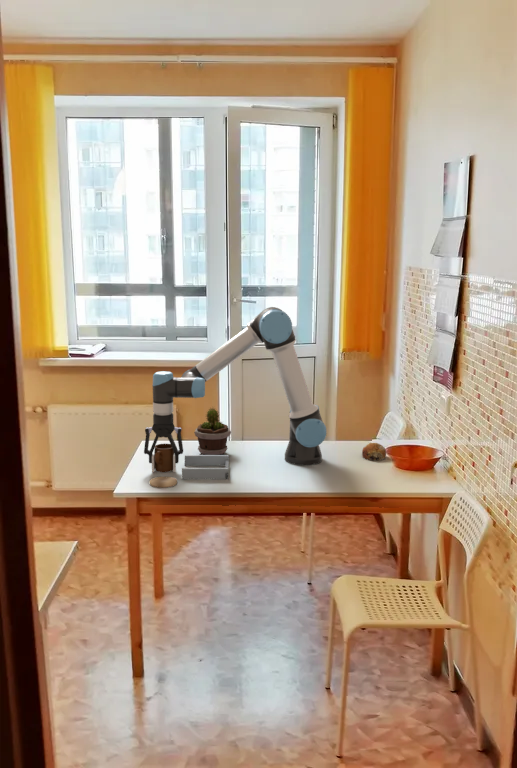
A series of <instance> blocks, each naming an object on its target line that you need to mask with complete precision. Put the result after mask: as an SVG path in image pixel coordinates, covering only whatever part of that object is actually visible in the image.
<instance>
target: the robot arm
mask: <svg viewBox="0 0 517 768" xmlns="http://www.w3.org/2000/svg"><path fill="white" fill-rule="evenodd" d="M295 336H296V335H295V333H294V329H293V321H292V320H291V317H290V316H289V314H287V312H285V311H283V310H282V309H280V308H278V307H273V306H270V307H267V308H266V307H265V308H264V309H263V310H262V311H261V312H259V314H257V315H256V316H255V317H254V318H253V319H251V320H250V321H249V322H248V323H246V327H244V329H242V330H241V331H240V332H238V333H237V334H236V335H234V336H233V337H232V338H231V339H229V340H227V341H226V342H225V343H224V344H222V345H221V346H220V347H219V348H217V349H216V350H214V351H213V352H211V353H210V354H209V355H207V357H205V358H204V359H202V360H201V361H200V362H198V363H196V365H195V366H193V367H192V368H189V369H188V370H186V371H184V373H183V374H182V375H181V377H176V376H174V373H173V372H171V371H166V370H165V371H164V370H162V371H156V372H154V374H153V375H152V411H153V416H152V417H153V418H152V423H153V425H152V426H150V427H148V426H147V427H145V429H144V432H145V441H144V448H143V449H144V450H143V454H144V455H148V464H151V473H155V471H156V470H155V454H154V450H155V446H156V445H157V443H158V440H159V438H167V440H168V441H169V444H171V446H172V449H173V451H174V454H173V471H172V472H173V473H176V471H177V467H176V466H177V464H178V463H179V460H180V459H179V458H180V457H179V456H180V455H182V454H184V446H183V445H184V444H183V440H182V439H183V438H182V434H181V433H182V427H181V426H180V427H177V426H175V424H174V399H175V398H183V399H186V398H187V399H188V398H189V399H193V398H194V399H197V398H204V397H205V396H206V382H208V381H209V380H210V379H211V378H213V377H214V376H215V375H217V374H218V373H220V372H221V371H222V370H224V369H225V368H226V367H228V366H229V365H230V364H231V363H233V362H234V361H236V360H238V358H240V357H241V356H243V355H244V354H246V353H247V352H248V351H250V350H251V349H252V348H254V347H255V346H256V345H258V344H264V346H265V349H266V351H268V352H270V353H271V355H272V358H273V361H274V363H275V367H276V370H277V373H278V376H279V378H280V382H281V384H282V388H283V390H284V393H285V396H286V400H287V403H288V405H289V415H288V417H289V418H288V419H289V440H288V444H287V447H286V449H285V451H284V460H285V462H287V463H289V464H292V465H298V466H311V465H317V464H320V463H321V462H322V461H323V455H322V451H321V448H320V447H321V446H320V445H321V444H322V443H323V442H324V441H325V439H326V436H327V426H326V424H325V423H324V421H323V417H322V415H321V413H320V406H319V405H317V404H314V403H313V401H312V398H311V395H310V392H309V388H308V386H307V383H306V380H305V376H304V373H303V370H302V368H301V364H300V360H299V358H298V354H297V353H296V348H295V346H294V345H295V343H296V340H297V339H296V337H295ZM152 432H153V433H154V434H155V437H154V439H153V442H152V444H151V447H150V449H149V445H150V444H149V443H150V436H151V433H152ZM173 432H175V433H176V435H177V443H178V447H177V445H176V442H175V440H174V438H173Z"/></svg>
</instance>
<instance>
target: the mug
mask: <svg viewBox="0 0 517 768" xmlns="http://www.w3.org/2000/svg"><path fill="white" fill-rule="evenodd" d="M153 454H155V471H156V472H158V473H169V472H173V454H175V453H174V451H173V449H172V446H171V444H170V443H160V444H156V445H155V448H154V450H153Z"/></svg>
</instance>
